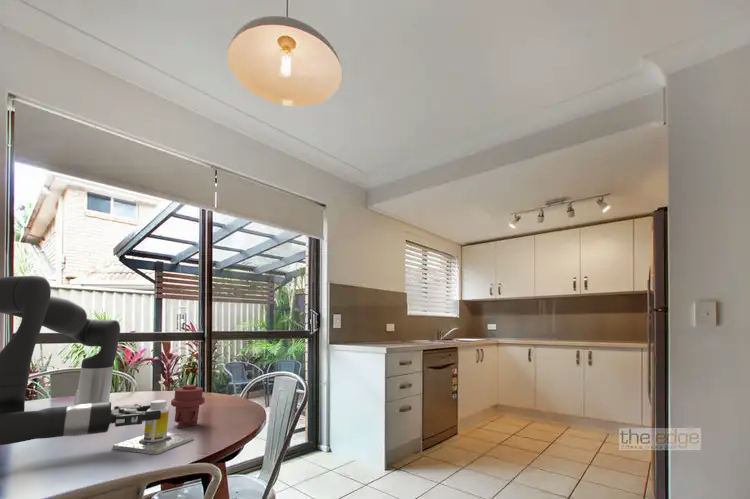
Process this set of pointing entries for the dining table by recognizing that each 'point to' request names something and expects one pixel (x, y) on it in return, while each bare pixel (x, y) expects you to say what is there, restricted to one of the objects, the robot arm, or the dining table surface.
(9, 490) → the dining table surface
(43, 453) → the dining table surface
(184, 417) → the mechanical component
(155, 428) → the supplement bottle
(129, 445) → the seat plate
